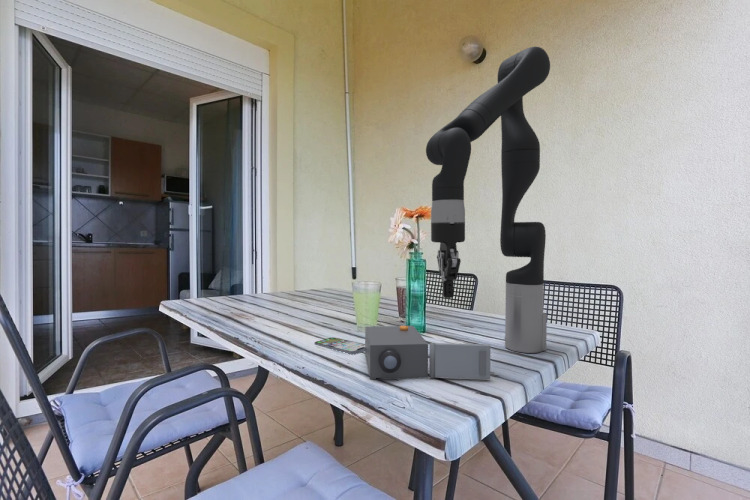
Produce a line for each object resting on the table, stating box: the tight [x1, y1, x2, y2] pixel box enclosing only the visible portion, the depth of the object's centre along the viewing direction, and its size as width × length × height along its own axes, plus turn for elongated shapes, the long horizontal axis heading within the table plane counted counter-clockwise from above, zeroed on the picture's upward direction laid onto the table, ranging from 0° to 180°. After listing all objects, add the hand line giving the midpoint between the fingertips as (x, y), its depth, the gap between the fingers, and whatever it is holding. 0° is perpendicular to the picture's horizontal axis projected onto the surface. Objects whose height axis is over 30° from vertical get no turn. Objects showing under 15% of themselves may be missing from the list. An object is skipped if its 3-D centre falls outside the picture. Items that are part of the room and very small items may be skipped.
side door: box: [428, 342, 491, 380], centre depth 73 cm, size 2×12×7 cm, turn 85°
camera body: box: [364, 325, 429, 380], centre depth 81 cm, size 12×17×8 cm
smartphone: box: [314, 337, 365, 355], centre depth 96 cm, size 7×1×15 cm
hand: (448, 297), depth 82 cm, fingers closed
